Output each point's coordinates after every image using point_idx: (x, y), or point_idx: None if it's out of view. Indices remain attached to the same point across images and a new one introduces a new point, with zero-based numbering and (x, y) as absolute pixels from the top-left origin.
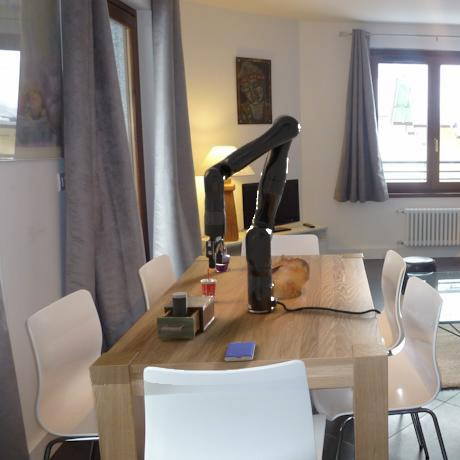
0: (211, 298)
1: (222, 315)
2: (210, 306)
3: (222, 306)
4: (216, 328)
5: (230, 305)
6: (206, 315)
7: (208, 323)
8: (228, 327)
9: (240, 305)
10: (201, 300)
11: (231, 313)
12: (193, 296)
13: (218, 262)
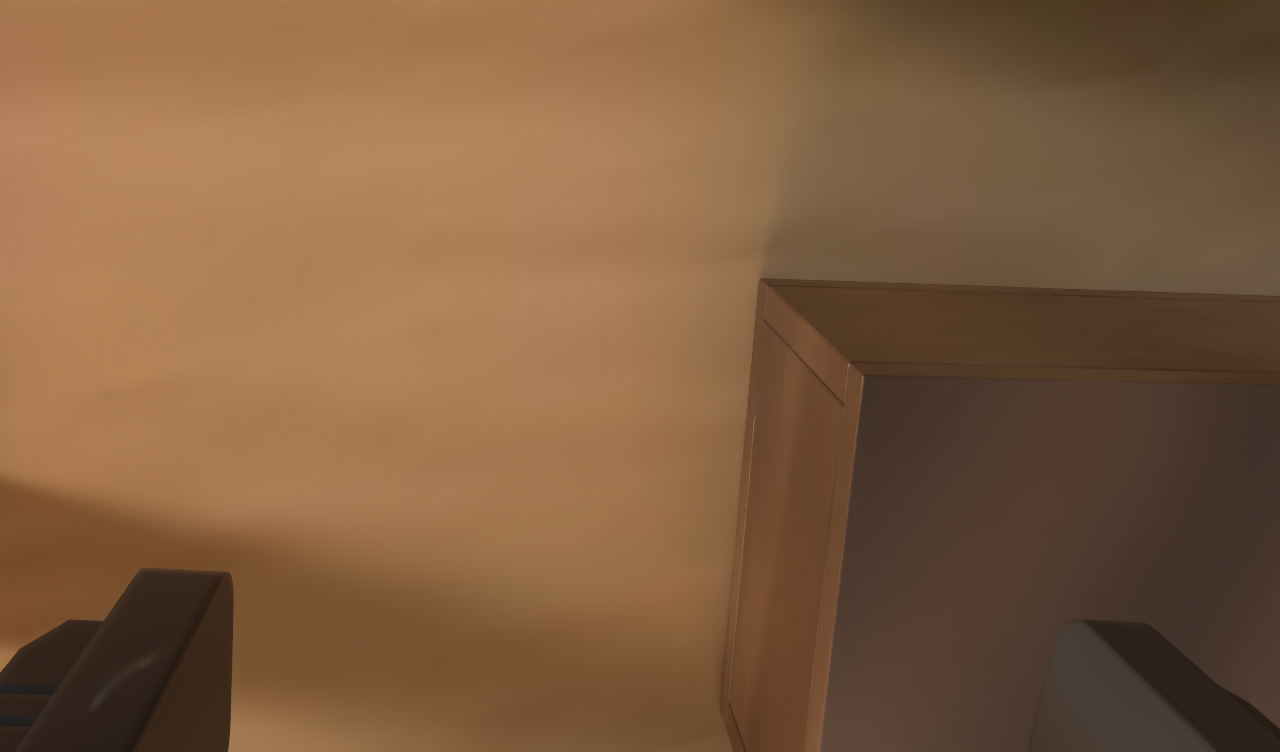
0: (1037, 376)
1: (596, 200)
2: (1057, 345)
3: (109, 293)
4: (1173, 167)
5: (38, 176)
6: (1251, 333)
7: (1087, 296)
8: (1162, 10)
9: (20, 3)
10: (1169, 511)
11: (497, 81)
12: (891, 700)
13: (219, 713)
